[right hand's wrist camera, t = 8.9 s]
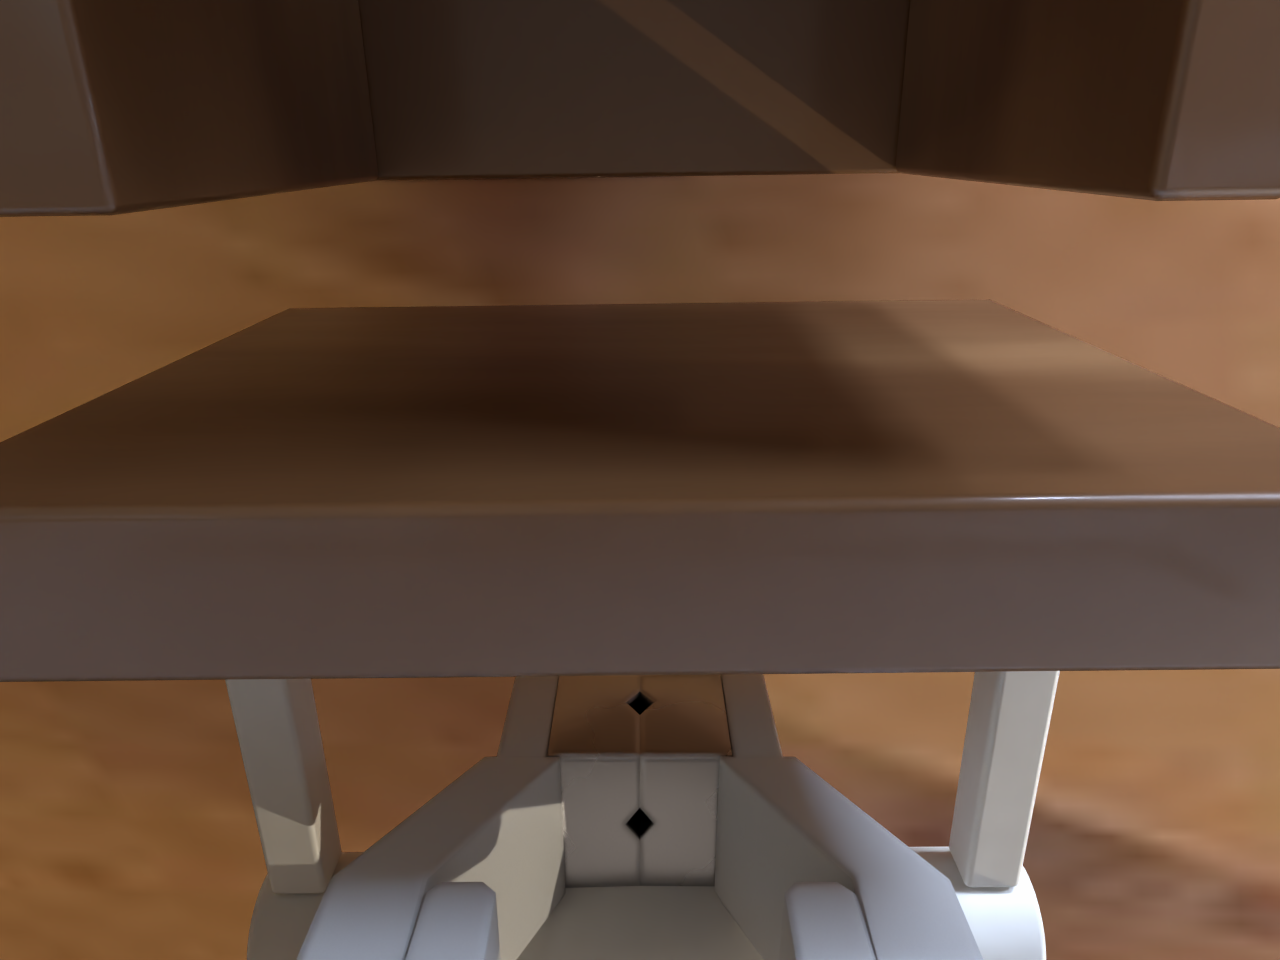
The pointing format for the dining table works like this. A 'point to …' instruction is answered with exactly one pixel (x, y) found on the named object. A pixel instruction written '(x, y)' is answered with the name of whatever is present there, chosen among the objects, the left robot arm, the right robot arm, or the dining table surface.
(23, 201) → the drawer
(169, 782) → the dining table surface
